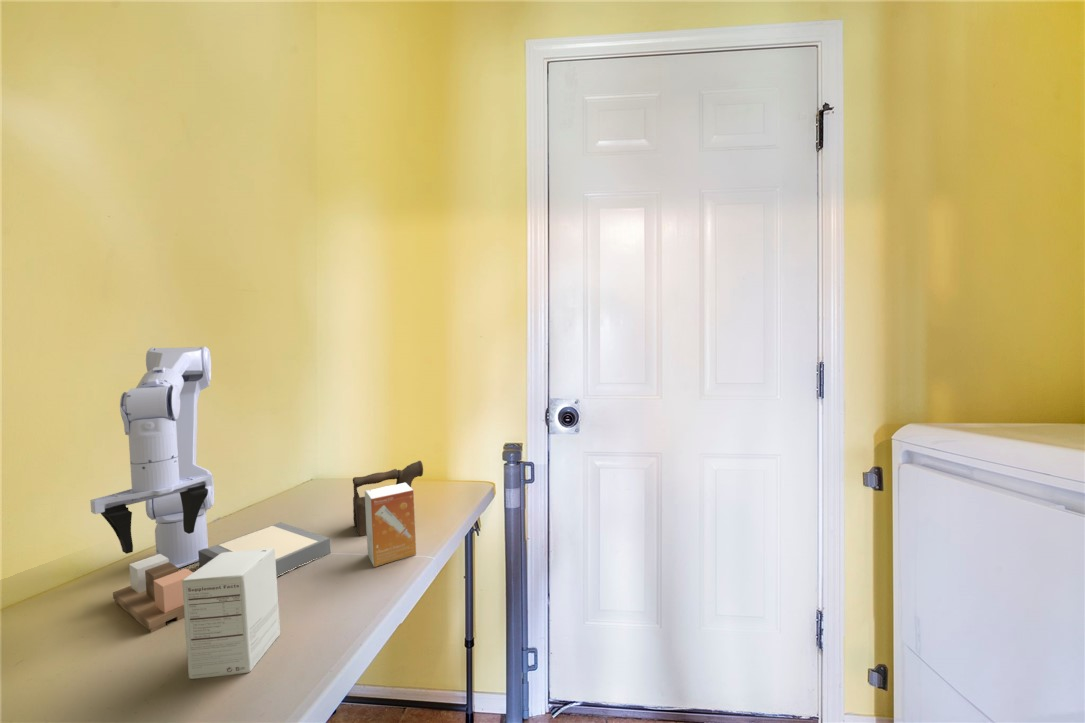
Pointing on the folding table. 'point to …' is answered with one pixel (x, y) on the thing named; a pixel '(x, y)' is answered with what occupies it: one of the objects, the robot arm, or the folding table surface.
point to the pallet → (148, 600)
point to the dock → (275, 546)
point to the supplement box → (231, 612)
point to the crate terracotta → (170, 590)
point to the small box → (390, 523)
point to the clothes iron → (400, 475)
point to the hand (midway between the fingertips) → (159, 541)
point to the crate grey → (139, 571)
